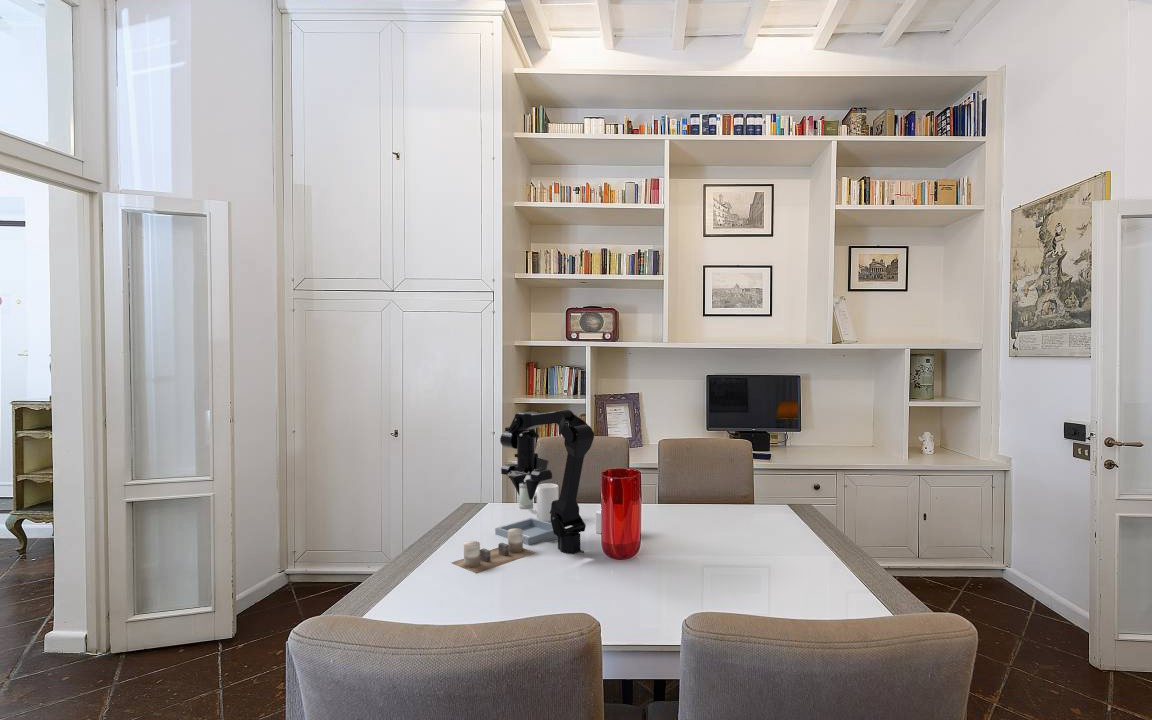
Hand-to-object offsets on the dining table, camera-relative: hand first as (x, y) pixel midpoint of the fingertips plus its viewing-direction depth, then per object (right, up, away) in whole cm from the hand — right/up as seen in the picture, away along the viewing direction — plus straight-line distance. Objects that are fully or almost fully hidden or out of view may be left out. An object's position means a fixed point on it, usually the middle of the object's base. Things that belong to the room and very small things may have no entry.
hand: (526, 498), depth 188 cm
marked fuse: (0, -3, 0) cm, 3 cm away
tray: (+1, -13, +2) cm, 13 cm away
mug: (+4, -13, +23) cm, 26 cm away
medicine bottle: (+28, -13, +6) cm, 31 cm away
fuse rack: (-8, -13, -20) cm, 25 cm away
